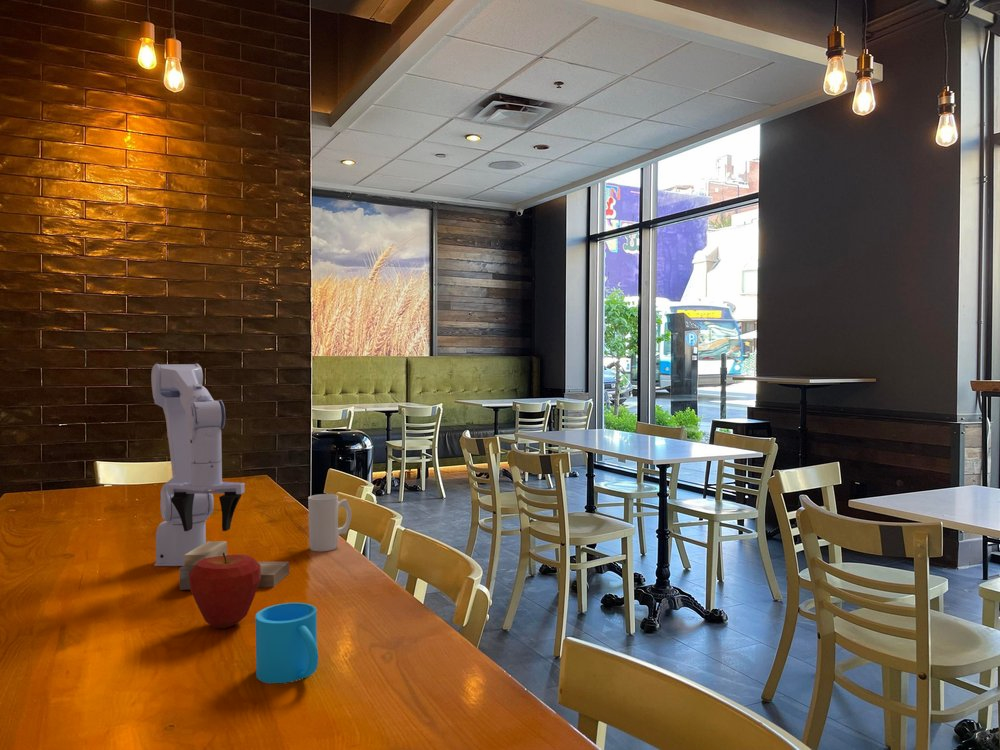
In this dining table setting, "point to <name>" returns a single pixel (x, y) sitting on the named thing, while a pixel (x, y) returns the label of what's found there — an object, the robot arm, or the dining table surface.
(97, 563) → the dining table surface
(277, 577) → the plank
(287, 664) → the mug
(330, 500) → the mug
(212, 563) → the apple
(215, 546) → the stepped beige block
